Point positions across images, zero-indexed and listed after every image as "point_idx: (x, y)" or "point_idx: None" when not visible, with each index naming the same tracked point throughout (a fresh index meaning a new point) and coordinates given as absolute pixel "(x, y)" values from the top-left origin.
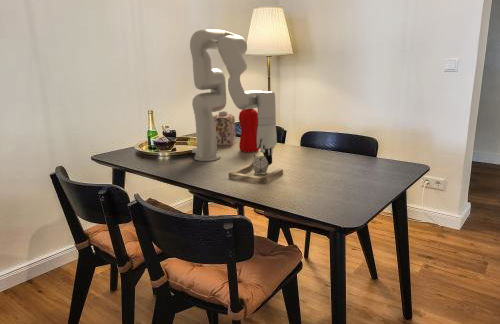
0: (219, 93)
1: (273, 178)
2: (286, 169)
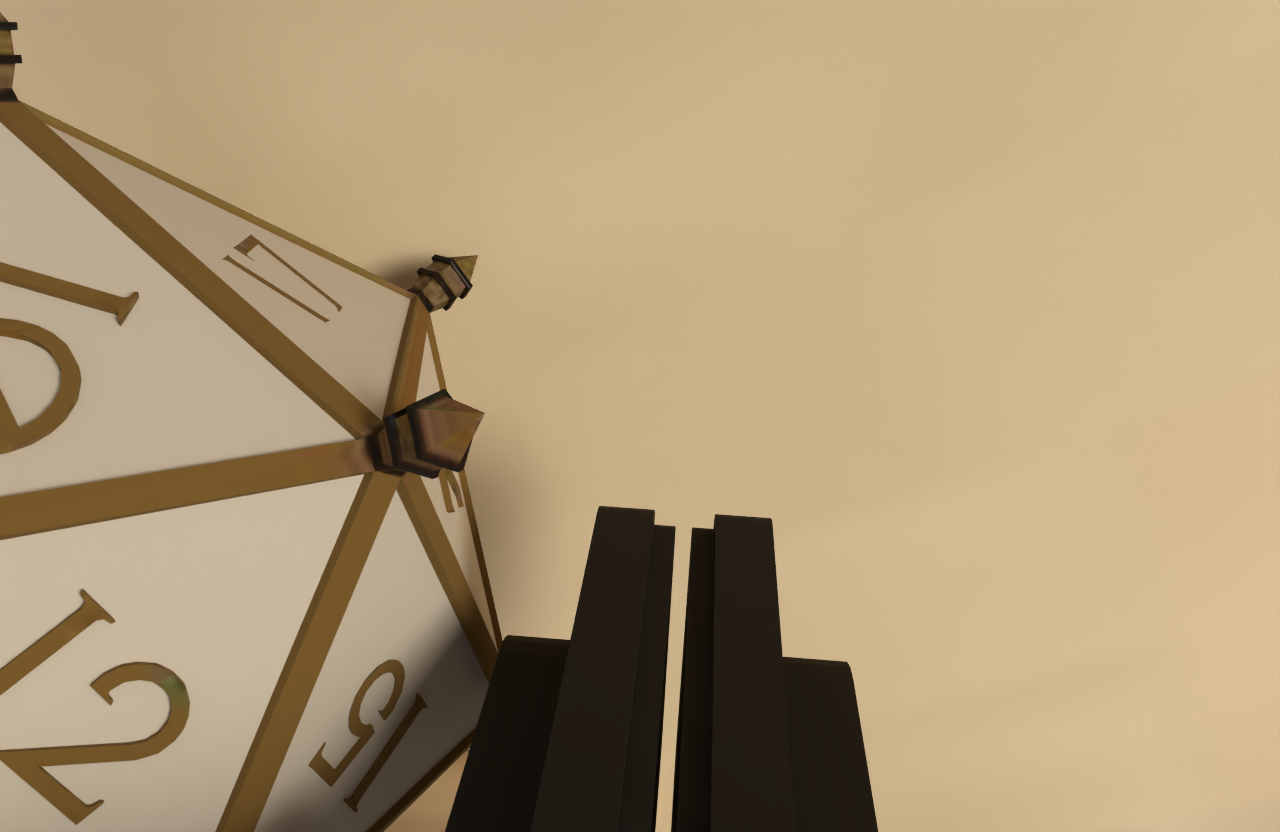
0: None
1: None
2: (1045, 819)
